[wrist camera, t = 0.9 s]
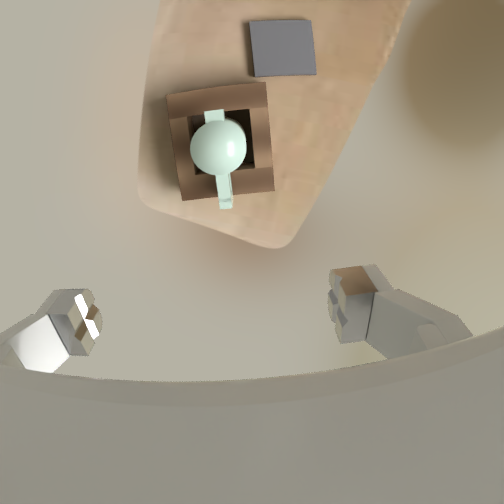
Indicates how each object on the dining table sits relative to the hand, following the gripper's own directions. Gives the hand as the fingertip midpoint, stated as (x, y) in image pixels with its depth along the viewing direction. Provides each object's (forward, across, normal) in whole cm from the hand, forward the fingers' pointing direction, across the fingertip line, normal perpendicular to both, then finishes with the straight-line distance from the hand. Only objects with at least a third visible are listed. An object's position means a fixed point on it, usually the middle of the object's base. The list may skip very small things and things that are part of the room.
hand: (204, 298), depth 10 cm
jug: (+34, +1, -1) cm, 34 cm away
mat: (+33, -8, -14) cm, 37 cm away
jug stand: (+34, +1, -2) cm, 34 cm away
